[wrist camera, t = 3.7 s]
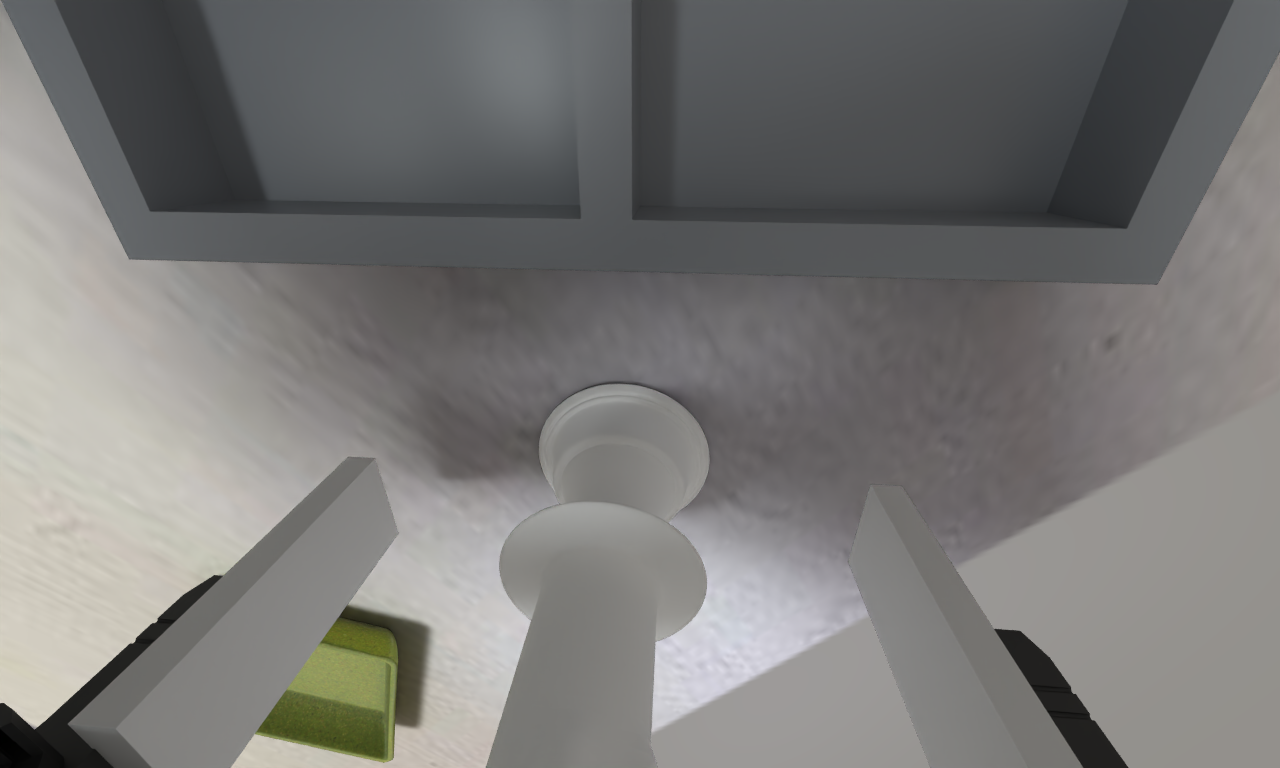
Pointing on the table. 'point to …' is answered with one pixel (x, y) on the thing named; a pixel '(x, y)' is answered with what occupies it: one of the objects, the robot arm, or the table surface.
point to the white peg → (601, 579)
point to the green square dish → (342, 695)
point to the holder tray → (657, 130)
